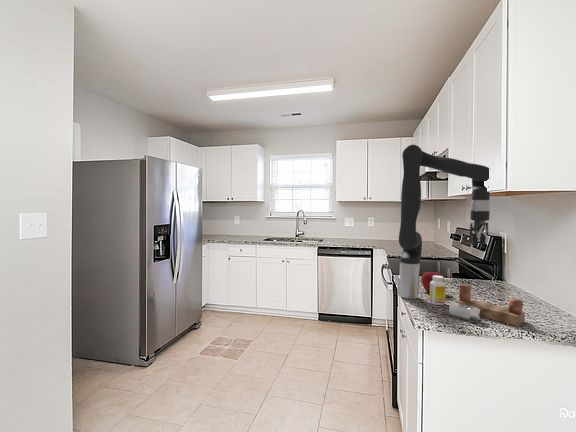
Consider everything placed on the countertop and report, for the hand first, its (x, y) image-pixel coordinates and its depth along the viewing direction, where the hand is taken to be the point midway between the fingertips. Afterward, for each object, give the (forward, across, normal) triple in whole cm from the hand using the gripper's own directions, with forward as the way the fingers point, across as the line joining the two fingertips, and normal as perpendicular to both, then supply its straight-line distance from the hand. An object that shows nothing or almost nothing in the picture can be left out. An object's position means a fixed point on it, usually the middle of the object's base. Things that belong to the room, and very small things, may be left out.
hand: (478, 245), depth 146 cm
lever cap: (+27, +22, +4) cm, 36 cm away
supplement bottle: (+28, +13, -12) cm, 33 cm away
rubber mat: (+28, +22, +3) cm, 36 cm away
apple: (+28, -4, -23) cm, 37 cm away
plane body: (+28, +11, +9) cm, 32 cm away
